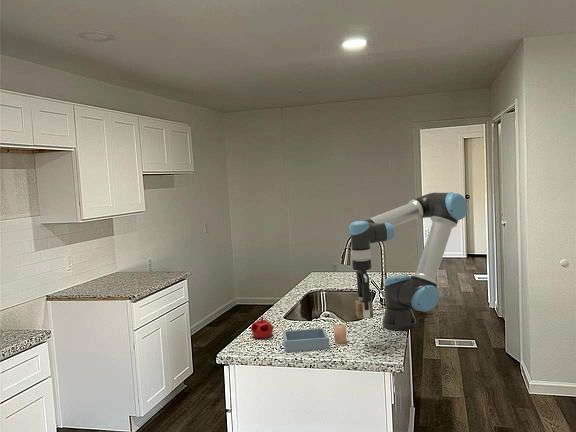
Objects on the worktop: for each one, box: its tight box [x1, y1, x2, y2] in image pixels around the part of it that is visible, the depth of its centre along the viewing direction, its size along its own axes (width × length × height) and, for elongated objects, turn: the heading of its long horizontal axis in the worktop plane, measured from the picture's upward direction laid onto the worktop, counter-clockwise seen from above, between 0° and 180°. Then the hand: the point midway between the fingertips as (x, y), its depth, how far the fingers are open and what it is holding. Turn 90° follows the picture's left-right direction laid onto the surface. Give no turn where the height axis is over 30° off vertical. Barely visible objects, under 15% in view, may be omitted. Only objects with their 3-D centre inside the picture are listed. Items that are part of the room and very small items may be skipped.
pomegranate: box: [250, 316, 274, 339], centre depth 233 cm, size 10×10×9 cm
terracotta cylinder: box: [333, 324, 348, 345], centre depth 219 cm, size 5×5×7 cm
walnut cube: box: [354, 299, 374, 320], centre depth 210 cm, size 6×6×6 cm
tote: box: [282, 327, 330, 353], centre depth 218 cm, size 18×14×5 cm
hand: (365, 314), depth 211 cm, fingers closed on walnut cube, 6 cm apart
